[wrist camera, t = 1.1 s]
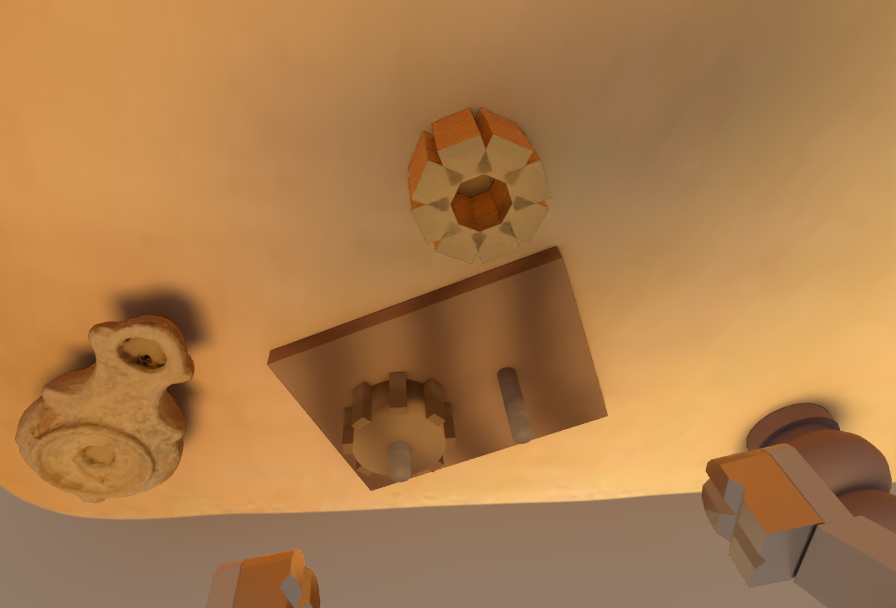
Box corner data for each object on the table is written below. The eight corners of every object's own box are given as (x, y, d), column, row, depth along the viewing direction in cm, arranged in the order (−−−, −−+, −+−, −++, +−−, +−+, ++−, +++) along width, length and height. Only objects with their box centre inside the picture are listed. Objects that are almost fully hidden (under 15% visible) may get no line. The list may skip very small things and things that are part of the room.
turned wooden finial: (746, 402, 40) (862, 561, 30) (852, 384, 40) (1002, 537, 30) (727, 471, 45) (821, 626, 35) (821, 455, 45) (941, 605, 35)
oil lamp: (200, 283, 29) (170, 343, 25) (237, 452, 38) (220, 517, 34) (-15, 279, 28) (-81, 342, 24) (74, 455, 36) (36, 523, 32)
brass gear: (511, 90, 25) (527, 114, 22) (543, 200, 28) (561, 234, 25) (391, 140, 25) (392, 170, 23) (437, 241, 29) (443, 278, 26)
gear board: (556, 246, 30) (590, 313, 25) (602, 403, 38) (635, 477, 33) (270, 351, 32) (250, 431, 27) (371, 477, 41) (369, 556, 36)
